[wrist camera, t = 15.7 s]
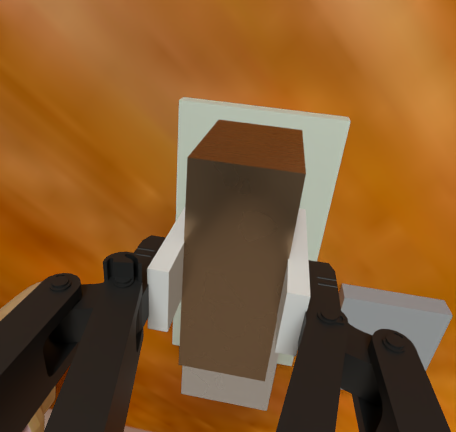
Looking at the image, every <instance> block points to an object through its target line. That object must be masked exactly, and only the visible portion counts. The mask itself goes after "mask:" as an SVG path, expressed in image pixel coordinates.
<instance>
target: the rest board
mask: <svg viewBox="0 0 456 432" xmlns="http://www.w3.org/2000/svg"><path fill="white" fill-rule="evenodd" d="M218 120H227V121H235V122H243V123H251V124H259V125H266V126H274V127H282V128H290V129H298V130H302V133H303V144H304V156H305V168H306V176H305V181H304V186H303V191H302V197H301V202H300V207H299V208H300V209H306V224H307V243H308V260H311V261H317V259H318V254H319V250H320V246H321V242H322V238H323V234H324V230H325V225H326V221H327V217H328V213H329V209H330V205H331V200H332V196H333V192H334V188H335V184H336V180H337V176H338V171H339V167H340V163H341V159H342V155H343V151H344V147H345V142H346V138H347V134H348V130H349V126H350V122H351V121H350V119H349V118H348V117H344V116H336V115H327V114H319V113H311V112H303V111H295V110H286V109H278V108H270V107H262V106H253V105H245V104H237V103H229V102H221V101H212V100H204V99H196V98H188V97H183V98H182V99H180V100H179V123H178V159H177V196H176V220H177V219H178V217H179V216H180V214H181V212H182V211H183V209H184V207H185V203H186V179H187V157H188V156H189V155H190V154H191V152H192V151H193V150H194V149H195V148H196V146H197V145H198V144H199V143H200V142H201V140H202V139H203V138H204V137H205V135H206V134H207V133H208V132H209V131H210V129H211V128H212V127H213V126H214V125H215V123H216V122H217V121H218ZM180 322H181V301H180V304H179V306H178V308H177V311H176V313H175V316H174V318H173V341H172V344H174V345H179V346H180ZM293 358H294V356H292V355H287V354H282V353H279V356H278V361H277V364H282V365H288V366H292V362H293Z"/></svg>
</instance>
